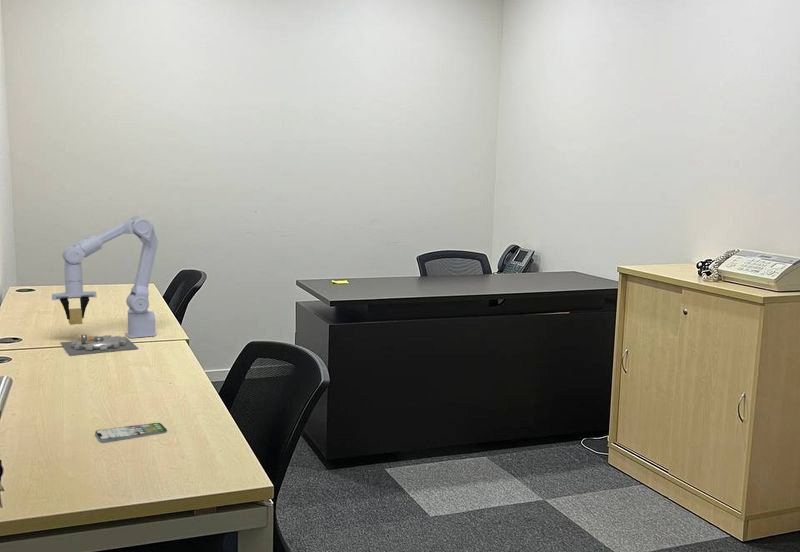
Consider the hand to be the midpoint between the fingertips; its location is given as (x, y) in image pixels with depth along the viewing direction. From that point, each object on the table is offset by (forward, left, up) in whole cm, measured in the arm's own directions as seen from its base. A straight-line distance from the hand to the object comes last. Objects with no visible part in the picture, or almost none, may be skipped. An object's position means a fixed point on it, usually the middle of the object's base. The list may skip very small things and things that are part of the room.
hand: (75, 318), depth 272 cm
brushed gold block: (0, 0, -2) cm, 2 cm away
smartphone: (+4, +109, -9) cm, 110 cm away
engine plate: (-6, +12, -8) cm, 15 cm away
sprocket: (-6, +12, -8) cm, 15 cm away
